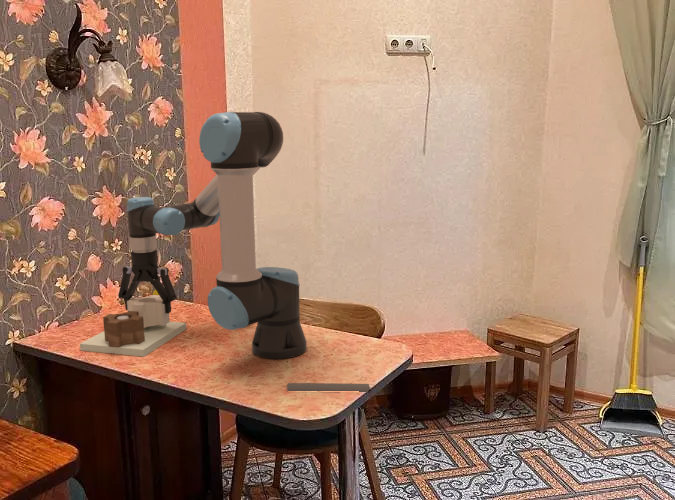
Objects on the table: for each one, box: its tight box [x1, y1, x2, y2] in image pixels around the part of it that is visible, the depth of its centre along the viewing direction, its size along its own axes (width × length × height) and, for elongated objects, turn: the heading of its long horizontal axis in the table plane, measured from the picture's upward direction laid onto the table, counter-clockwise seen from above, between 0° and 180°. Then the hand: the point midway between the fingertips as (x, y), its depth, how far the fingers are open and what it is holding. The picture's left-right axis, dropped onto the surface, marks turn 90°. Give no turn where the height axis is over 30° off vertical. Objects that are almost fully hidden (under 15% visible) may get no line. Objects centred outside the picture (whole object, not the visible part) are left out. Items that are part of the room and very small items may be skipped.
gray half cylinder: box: [286, 382, 370, 394], centre depth 158 cm, size 4×20×2 cm, turn 87°
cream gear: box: [129, 294, 163, 328], centre depth 198 cm, size 11×11×7 cm
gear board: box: [79, 316, 187, 358], centre depth 193 cm, size 20×24×9 cm
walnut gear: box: [102, 310, 145, 348], centre depth 186 cm, size 11×11×7 cm
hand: (149, 321), depth 199 cm, fingers closed on cream gear, 11 cm apart
